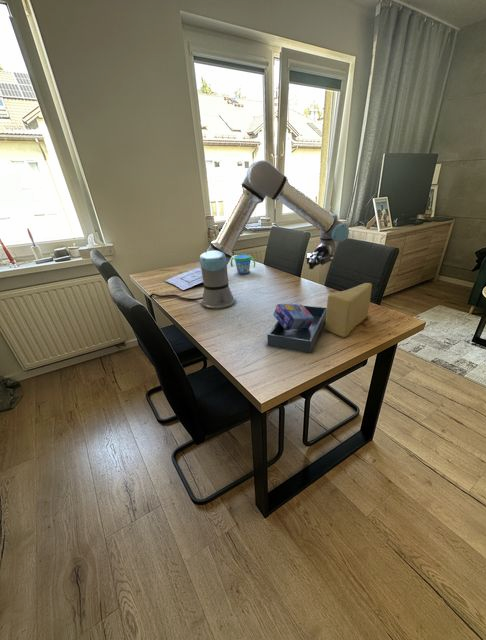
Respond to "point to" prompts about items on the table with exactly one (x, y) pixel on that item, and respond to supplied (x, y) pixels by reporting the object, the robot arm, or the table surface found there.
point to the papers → (187, 279)
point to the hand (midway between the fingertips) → (311, 265)
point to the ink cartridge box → (293, 316)
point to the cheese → (347, 309)
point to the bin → (299, 332)
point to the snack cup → (242, 263)
